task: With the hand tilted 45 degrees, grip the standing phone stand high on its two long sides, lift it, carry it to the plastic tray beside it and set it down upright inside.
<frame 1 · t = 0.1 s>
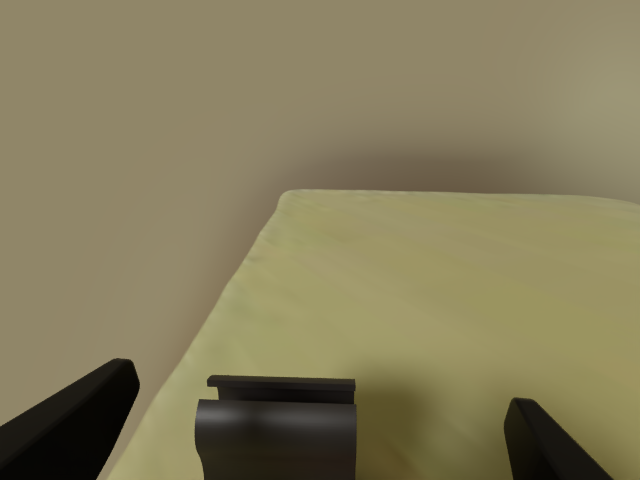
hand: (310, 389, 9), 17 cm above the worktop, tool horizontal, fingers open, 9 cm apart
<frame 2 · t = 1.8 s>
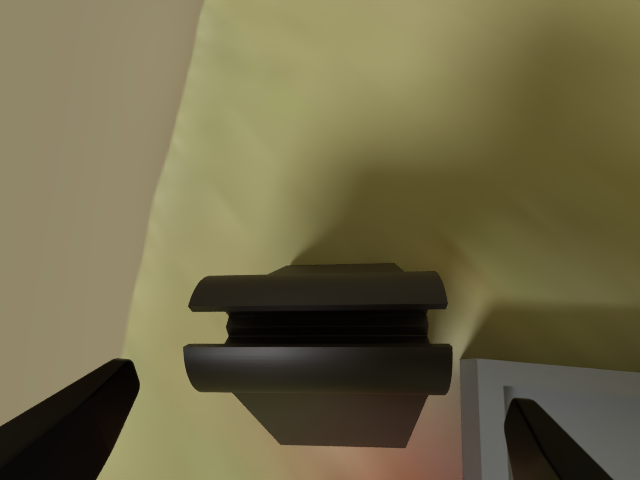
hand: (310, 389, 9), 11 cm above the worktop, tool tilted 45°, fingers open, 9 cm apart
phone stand: (341, 349, 20), on the worktop
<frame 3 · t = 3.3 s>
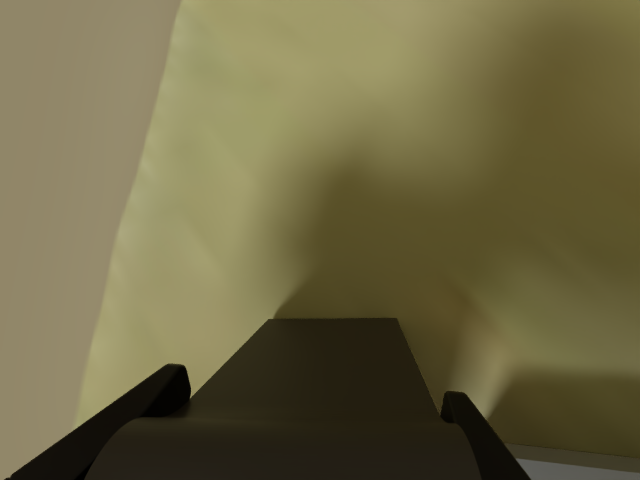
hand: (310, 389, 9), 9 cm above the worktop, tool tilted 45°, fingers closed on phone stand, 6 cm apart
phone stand: (333, 422, 17), on the worktop, touching gripper
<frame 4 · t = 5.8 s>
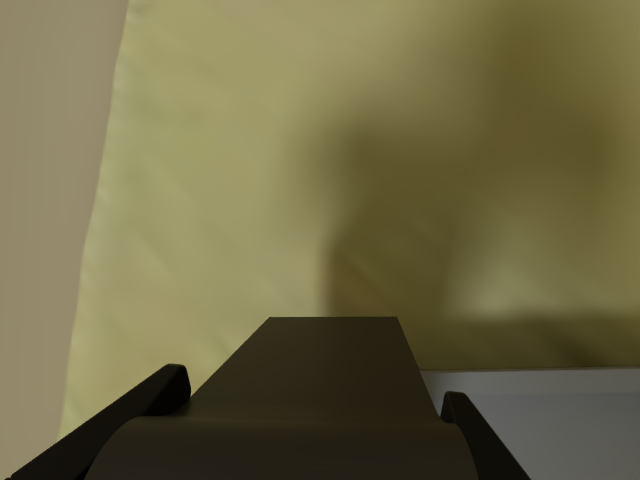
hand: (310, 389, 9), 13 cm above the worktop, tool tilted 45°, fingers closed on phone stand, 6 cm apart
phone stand: (333, 420, 17), point 4 cm above the worktop, touching gripper
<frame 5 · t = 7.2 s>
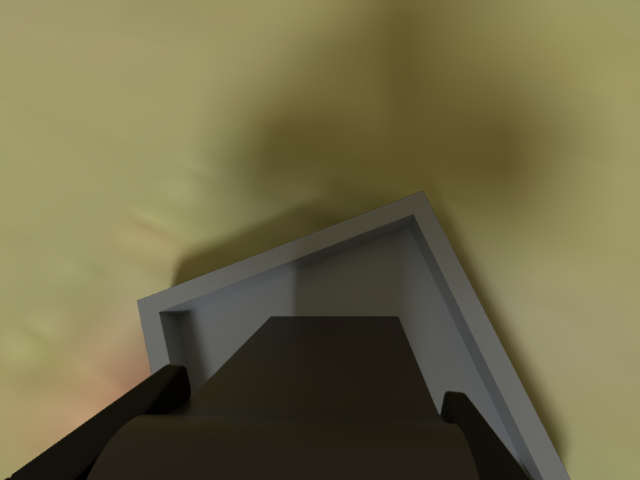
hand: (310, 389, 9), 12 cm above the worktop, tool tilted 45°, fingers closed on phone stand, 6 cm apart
tray: (338, 395, 20), on the worktop
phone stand: (334, 419, 17), point 3 cm above the worktop, touching gripper
when the fingers open (10 cm above the worktop, at t = 8.4 s): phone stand stays where it is, resting on tray.
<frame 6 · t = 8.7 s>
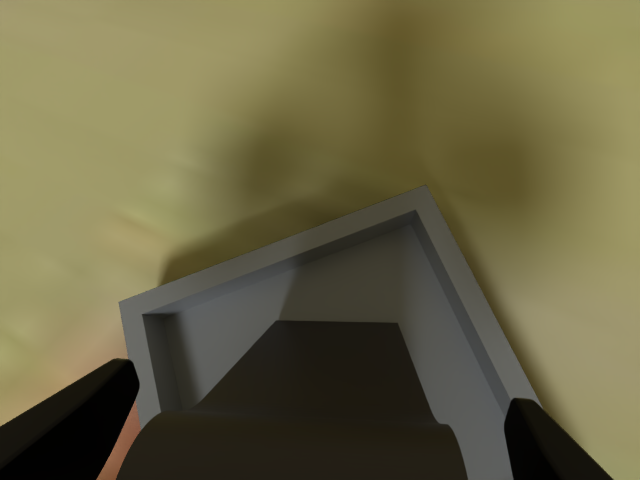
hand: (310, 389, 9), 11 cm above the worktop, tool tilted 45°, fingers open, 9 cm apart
tray: (335, 404, 18), on the worktop
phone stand: (334, 420, 17), point 1 cm above the worktop, touching tray
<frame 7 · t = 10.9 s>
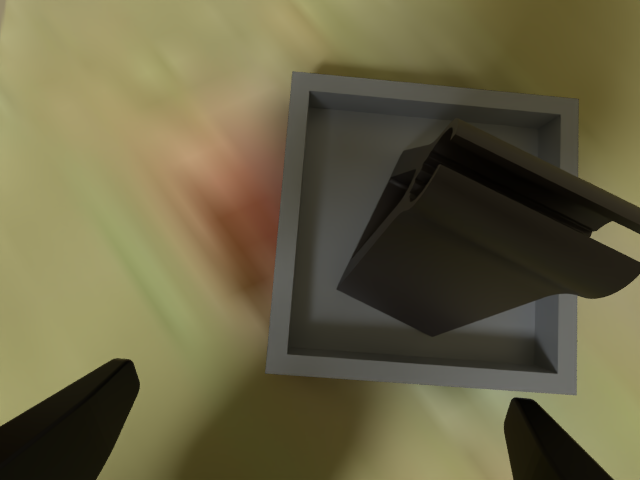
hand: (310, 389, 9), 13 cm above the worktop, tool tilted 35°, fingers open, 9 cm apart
tray: (414, 235, 23), on the worktop
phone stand: (414, 242, 22), point 1 cm above the worktop, touching tray
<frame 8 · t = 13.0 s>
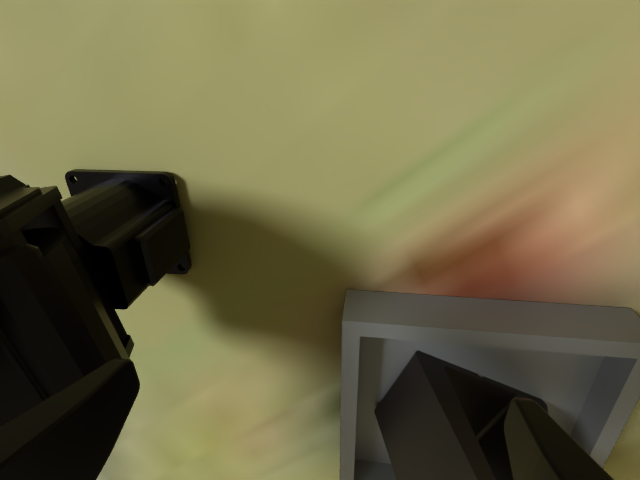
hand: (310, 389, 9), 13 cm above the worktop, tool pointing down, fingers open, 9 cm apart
tray: (460, 394, 26), on the worktop
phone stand: (454, 401, 25), point 1 cm above the worktop, touching tray
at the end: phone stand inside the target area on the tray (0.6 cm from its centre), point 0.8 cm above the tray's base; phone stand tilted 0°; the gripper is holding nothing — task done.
